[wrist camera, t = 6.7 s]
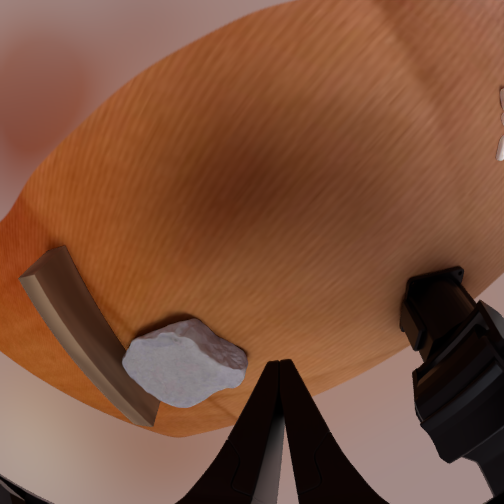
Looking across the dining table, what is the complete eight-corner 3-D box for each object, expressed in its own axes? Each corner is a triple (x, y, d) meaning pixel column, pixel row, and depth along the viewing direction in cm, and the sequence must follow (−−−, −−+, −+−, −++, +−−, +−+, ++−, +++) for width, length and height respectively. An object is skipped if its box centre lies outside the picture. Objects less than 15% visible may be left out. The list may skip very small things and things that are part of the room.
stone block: (129, 338, 30) (187, 392, 31) (108, 362, 25) (175, 419, 27) (188, 287, 26) (257, 355, 27) (167, 312, 21) (249, 388, 23)
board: (65, 245, 21) (34, 274, 17) (161, 397, 33) (153, 427, 28) (47, 250, 22) (18, 278, 17) (143, 395, 33) (134, 424, 29)
